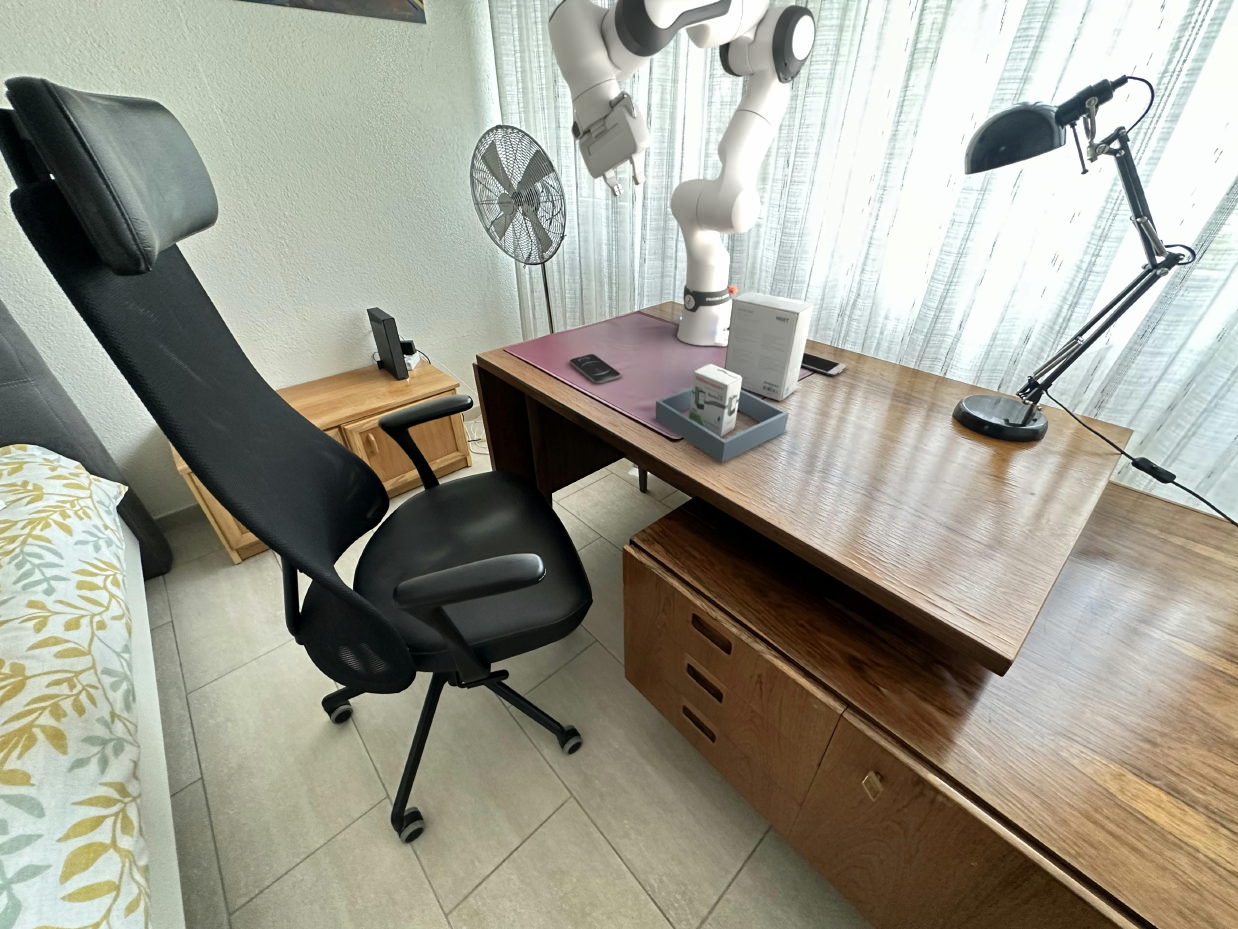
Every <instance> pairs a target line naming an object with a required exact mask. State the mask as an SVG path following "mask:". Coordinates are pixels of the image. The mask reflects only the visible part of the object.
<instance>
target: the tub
mask: <svg viewBox="0 0 1238 929" xmlns="http://www.w3.org/2000/svg"><path fill="white" fill-rule="evenodd" d="M691 395H692V387H689V388H687V389H683V390H681V391H678V392H676V393H673V394H670V395H667V396H665V397H662V398H659V399H657V400H655V420H656V421H657V422H658V423H660V424H662V425H663V426H665V427H666V428H667V429H669V430H671V431H672V432H674V433H676V435H678V436H680V437H681V438H683V439H684V440H686V441H687V442H688V443H691V444H692V445H694V446H695V447H697V448H698V449H699V450H701V451H703V452H704V453H706V454H707V455H709V456H710V457H712V458H713V459H715V460H716V461H718V462H719V463H721V464H723V463H725V462H727V461H729V460H731V459H733V458H735V457H737V456H739V455H742V454H744V453H745V452H748V451H750V450H752V449H754V448H755V447H757V446H759V445H760V446H761V445H762V444H764V443H766V442H768V441H770V440H771V439H774V438H776V437H778V436H781V435H782V434H784V433H785V432H786V427H787V424H788V423H787V422H788V419H789V414H790V412H788V411H786V410H784V409H782V408H780V407H778V406H775V405H774V404H772V403H769V402H768V401H766V400H763V399H761V398H759V397H758V396H755V395H753V394H751V393H749V392H748V391H746V390H744V389H742V388H741V389H740V395H739V402H738V408H737V411H739V412H741V413H743V414H744V415H747V416H749V417H750V418H752V419H754V420H756V421H758V422H759V423H758V424H755V425H753V426H751V427H749V428H747V429H744V430H743V431H740V432H737V433H736V434H733V435H731V436H730V437H727V438H725V439H724V438H722V436H721V437H720V436H718V435H716V434H714V433H713V432H711V431H709V430H708V429H706V428H705V427H703V426H701V425H700V424H698V423H696V422H695V421H693V420H691V419H690V418H689V417H688V416H687V415H685V414H683V413H682V412H684V411H686V410H688V409H689V410H690V406H691Z"/></svg>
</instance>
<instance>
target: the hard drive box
mask: <svg viewBox="0 0 1238 929" xmlns="http://www.w3.org/2000/svg"><path fill="white" fill-rule="evenodd" d="M731 300H732V306H731V316H730V325H729V334H728V343H727V346H726V353H725V361H724V362H725V363H724V369H725V370H728V371H730V372H732V373H735V374H737V375H740V376H741V377H742V383H741V389H742V390H745V391H749V392H752V393H755V394H758V395H760V396H763V397H766V398H769V399H773V400H776V401H778V402H781V401H783V400H785V399H787V397H789V396H790V395H792V393H794V392H795V391H796V390H797V387H798V381H799V376H800V371H801V368H802V367H801V363H802V358H803V353H804V352H805V348H806V343H807V339H808V333H809V329H810V324H811V319H812V315H813V309H814V305H815V303H812V302H807V301H802V300H798V299H792V298H787V297H782V296H776V295H770V294H765V293H760V292H755V291H747V292H745V293H742V294H740V295H738V296H736V297H733V298H732V299H731Z"/></svg>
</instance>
